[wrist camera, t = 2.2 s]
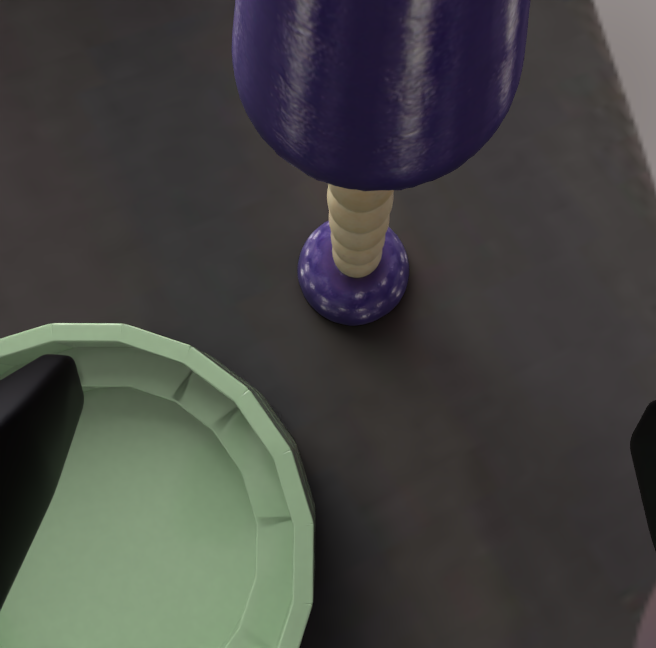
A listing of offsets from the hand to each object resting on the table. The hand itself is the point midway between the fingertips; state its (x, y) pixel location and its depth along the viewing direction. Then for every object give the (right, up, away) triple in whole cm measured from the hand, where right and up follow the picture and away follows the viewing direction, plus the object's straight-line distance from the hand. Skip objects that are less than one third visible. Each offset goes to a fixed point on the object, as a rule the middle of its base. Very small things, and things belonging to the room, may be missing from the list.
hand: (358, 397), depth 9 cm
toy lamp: (0, +4, +13) cm, 14 cm away
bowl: (-8, -6, +11) cm, 15 cm away
